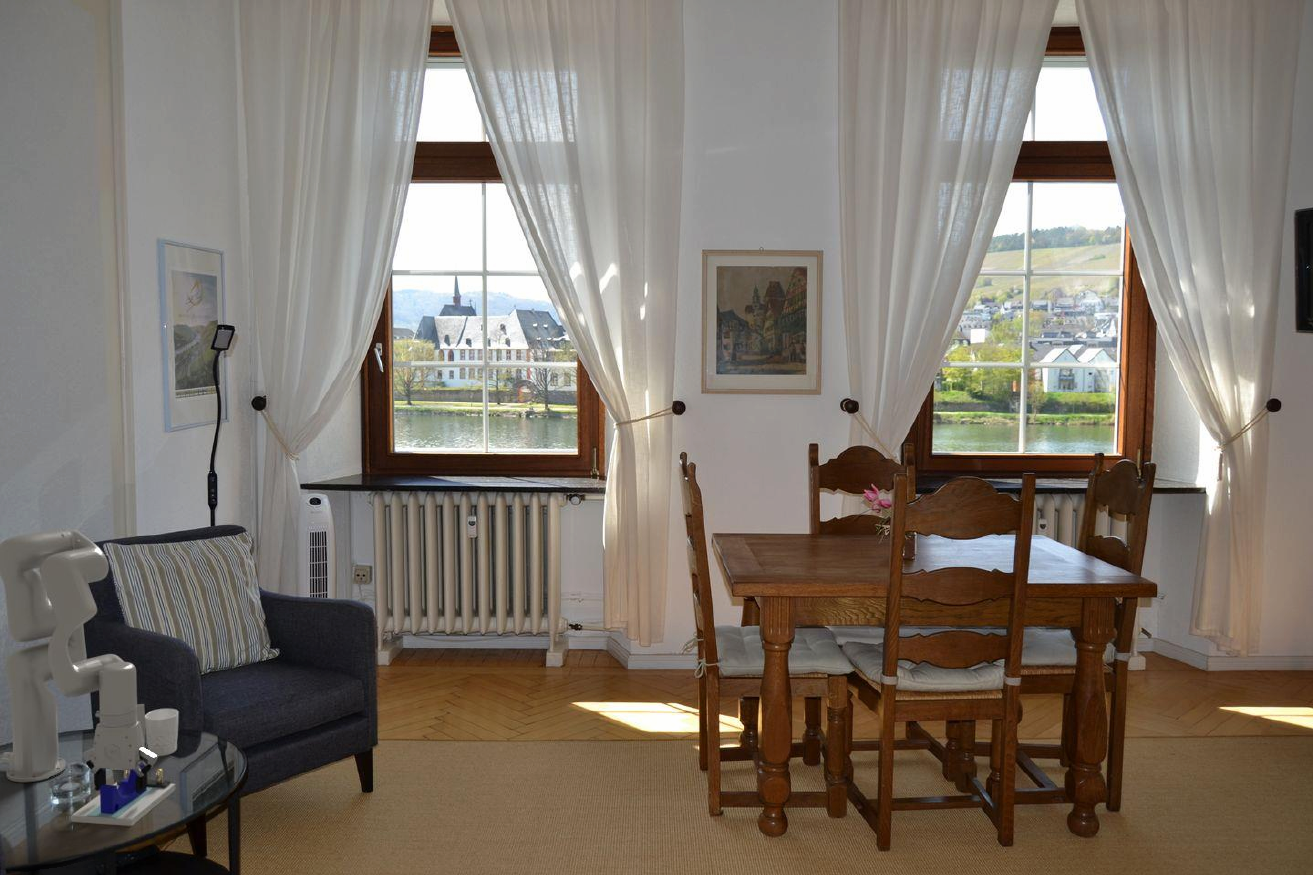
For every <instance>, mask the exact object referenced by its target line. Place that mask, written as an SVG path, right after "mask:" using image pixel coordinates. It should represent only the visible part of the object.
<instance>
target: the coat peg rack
mask: <svg viewBox="0 0 1313 875" xmlns="http://www.w3.org/2000/svg"><path fill="white" fill-rule="evenodd" d="M155 771H156V772H155V775H156V776H155V777H156V780H155V779H147V787H154V788H167V787H168V786H169V785H170V784H171V781H170V780H164V776H163V775H164V769H163V768H157V769H155ZM129 775H130V770H123V777H122V778H120V779H118V781H116V782H117V785H120V783H121V781H123V780H124V779H126V778H127V777H129Z"/></svg>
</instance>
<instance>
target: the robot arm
mask: <svg viewBox="0 0 1313 875" xmlns="http://www.w3.org/2000/svg"><path fill="white" fill-rule="evenodd" d="M109 566H110V565H109V561H108V559H107V557H106V554H105V553H104V551H103V550H102V549H101V548H100V547H99V546H98V545H96V543H94V542H93V541H91V540H90V539H89V538H88V537H87V536H85V535H84V534H82V533H81V532H79V531H78V530H76V529H73V528H68V527H67V528H58V529H51V530H46V531H38V532H31V533H24V534H21V535H16V536H12V537H8V538H7V539H5V540H3V541H2V542H1V543H0V578H1V580H2V584H3V586H4V593H5V595H4V596H5V603H6V614H7V626H8V631H9V634H10V637H11V638H12V639H13V641H16V642H18V643H26V642H34V641H38V640H42V639H46V638H50V640H49V641H47V642H42V643H39V644H35V645H29V646H27V647H23V648H21V649H18V650H15V651H14V652H12V653H11V654H10V655H9V656H7V657H6V660H5V663H4V671H5V676H6V680H7V685H8V688H9V695H10V697H9V698H10V707H11V709H10V710H11V729H12V732H11V733H12V752H9V751H8V752H7V751H6V752H5V751H4V752H3V753H2V755H1V758H0V764H1V765H9V768H8V769H7V771H6V778H7V779H8V780H9V781H12V782H17V783H32V782H33V783H34V782H40V781H45V780H46V779H47V780H48V779H50V778H49V777H50V776H53V775H55V774H57V773H59V772H61V771H62V770H64V769H65V770H66V768H67V761H66V760H65V759H63V758H62V757H60V754H59V730H58V703H57V698H56V696H55V694H54V693H53V692H52V691H51V690H50V689H49V688H48V687H47V684H48V683H51V682H53V681H54V682H55V686H56V688H57V690H58V691H59V692H60V693H61V695H63V696H64V697H67V698H76V697H80V696H84V695H87V694H90V693H93V692H94V693H95V692H99V693H98V694H99V695H98V696H99V710H97V711H96V712H95V718H98V719H99V723H97V724H96V727H95V731H94V737H93V744H92V745H93V747H92V748H89V749H88V750H86V751H84V752H82V754H81V755H82V758H83V759H84V761H85V764H86V766H87V767H88V768H89V769H90V771H91V774H93V784H94V790H95V792H96V791H97V792H98V791H99V792H100V787H101V786H103V785H104V784H105V785H107V770H115V771H117V770H118V771H120V770H121V771H124V770H132V769H133V770H134V771H135V772H136V774H137V775H138V776H137V777H136V778H135V779H136V793H141V792H142V791H143V790H144V789H146V787H147V780H148V773H149V772H150V770H152V769H153V768H154V767H155V764H156V762H157V760H158V758H159V756H157V755H155V754H154V753H152V752H150V751H148V748H147V749H146V748H145V747H146V746H145V743H144V737H143V731H142V727H141V724H140V721H138V720H137V705H138V696H137V695H138V692H137V689H138V687H137V685H138V684H137V668H136V666H135V665H134V664H133V663H132V662H128V661H124V660H123V659H122V658H121V657H120V656H118V655H116V654H114V653H107V654H103V655H98V656H95V657H91V658H87V652H86V640H85V630H84V629H85V628H84V624H85V623H87V622H88V621H89V620H91V619H93V618H94V616H96V614H97V612H98V607H97V604H96V602H95V600H94V597H93V596H94V595H93V594H92V591H91V588H90V585H89V583H90V584H91V583H94V582H100V581H103V579H105V578H106V577H107V576H108V573H109V569H110V568H109ZM37 569H39V571H37ZM86 658H87V659H86ZM145 759H146V760H147V763H146V762H145ZM138 765H139V766H140V767H139V766H138ZM65 767H66V768H65ZM141 769H142V770H141ZM65 770H64V771H65ZM61 773H62V772H61ZM53 777H54V776H53Z"/></svg>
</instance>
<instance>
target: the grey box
mask: <svg viewBox="0 0 1313 875" xmlns="http://www.w3.org/2000/svg"><path fill="white" fill-rule="evenodd" d="M145 713H146V712H145V703H140V704H139V703H138V704H137V720H138V721H140V724H141V727H142V731H143V737H144V744H147V739H146V727H145V715H146V714H145Z"/></svg>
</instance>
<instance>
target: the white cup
mask: <svg viewBox="0 0 1313 875" xmlns="http://www.w3.org/2000/svg"><path fill="white" fill-rule="evenodd" d="M178 731H179V711H178V710H177V709H175V708H160V709H159V708H158V709H154V710H152V711H149V712H147V713H146V714H145V737H146V744H147V750H148V751H150V752H152V753H154V754H155V755H157V756H158V757H165V756H168V755H172V754H173V753H175V752H176V751H177V749H178V734H179V732H178Z"/></svg>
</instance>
